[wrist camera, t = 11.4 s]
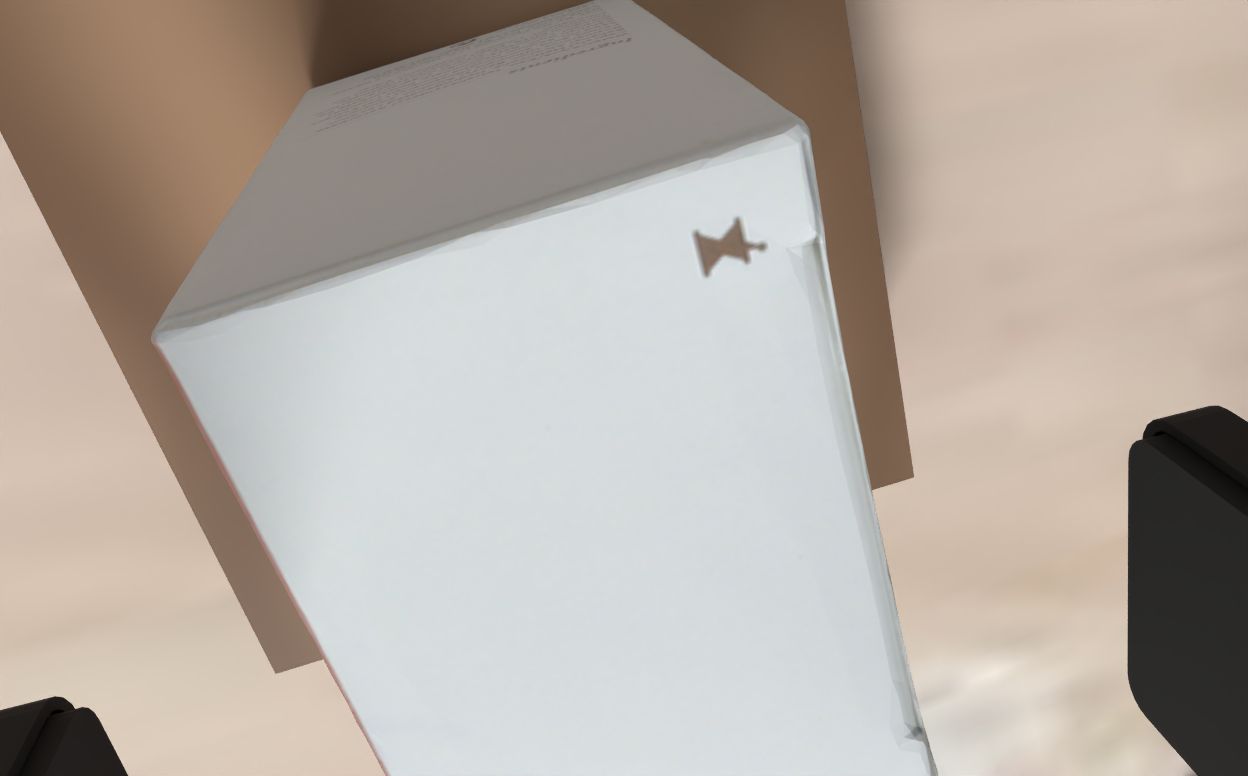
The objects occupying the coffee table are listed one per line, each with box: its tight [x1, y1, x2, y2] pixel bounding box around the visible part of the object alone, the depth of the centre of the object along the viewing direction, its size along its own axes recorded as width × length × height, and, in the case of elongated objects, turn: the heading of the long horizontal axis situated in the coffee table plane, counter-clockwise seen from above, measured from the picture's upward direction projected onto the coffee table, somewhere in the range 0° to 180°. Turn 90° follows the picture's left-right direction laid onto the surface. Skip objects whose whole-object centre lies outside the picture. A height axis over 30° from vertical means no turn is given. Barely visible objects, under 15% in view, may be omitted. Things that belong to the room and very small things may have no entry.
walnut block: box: [0, 0, 914, 674], centre depth 22 cm, size 14×14×5 cm
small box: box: [151, 0, 938, 776], centre depth 15 cm, size 8×6×10 cm
